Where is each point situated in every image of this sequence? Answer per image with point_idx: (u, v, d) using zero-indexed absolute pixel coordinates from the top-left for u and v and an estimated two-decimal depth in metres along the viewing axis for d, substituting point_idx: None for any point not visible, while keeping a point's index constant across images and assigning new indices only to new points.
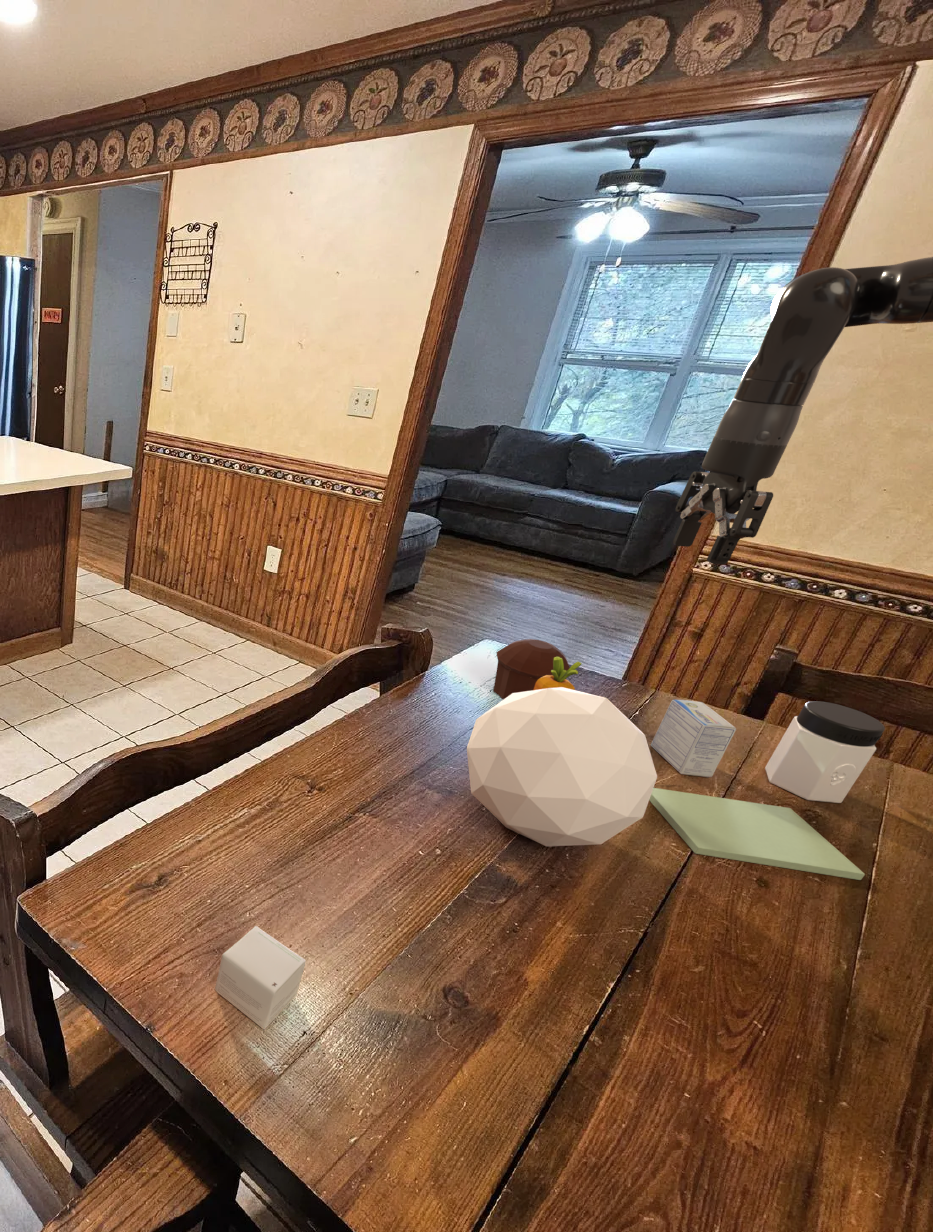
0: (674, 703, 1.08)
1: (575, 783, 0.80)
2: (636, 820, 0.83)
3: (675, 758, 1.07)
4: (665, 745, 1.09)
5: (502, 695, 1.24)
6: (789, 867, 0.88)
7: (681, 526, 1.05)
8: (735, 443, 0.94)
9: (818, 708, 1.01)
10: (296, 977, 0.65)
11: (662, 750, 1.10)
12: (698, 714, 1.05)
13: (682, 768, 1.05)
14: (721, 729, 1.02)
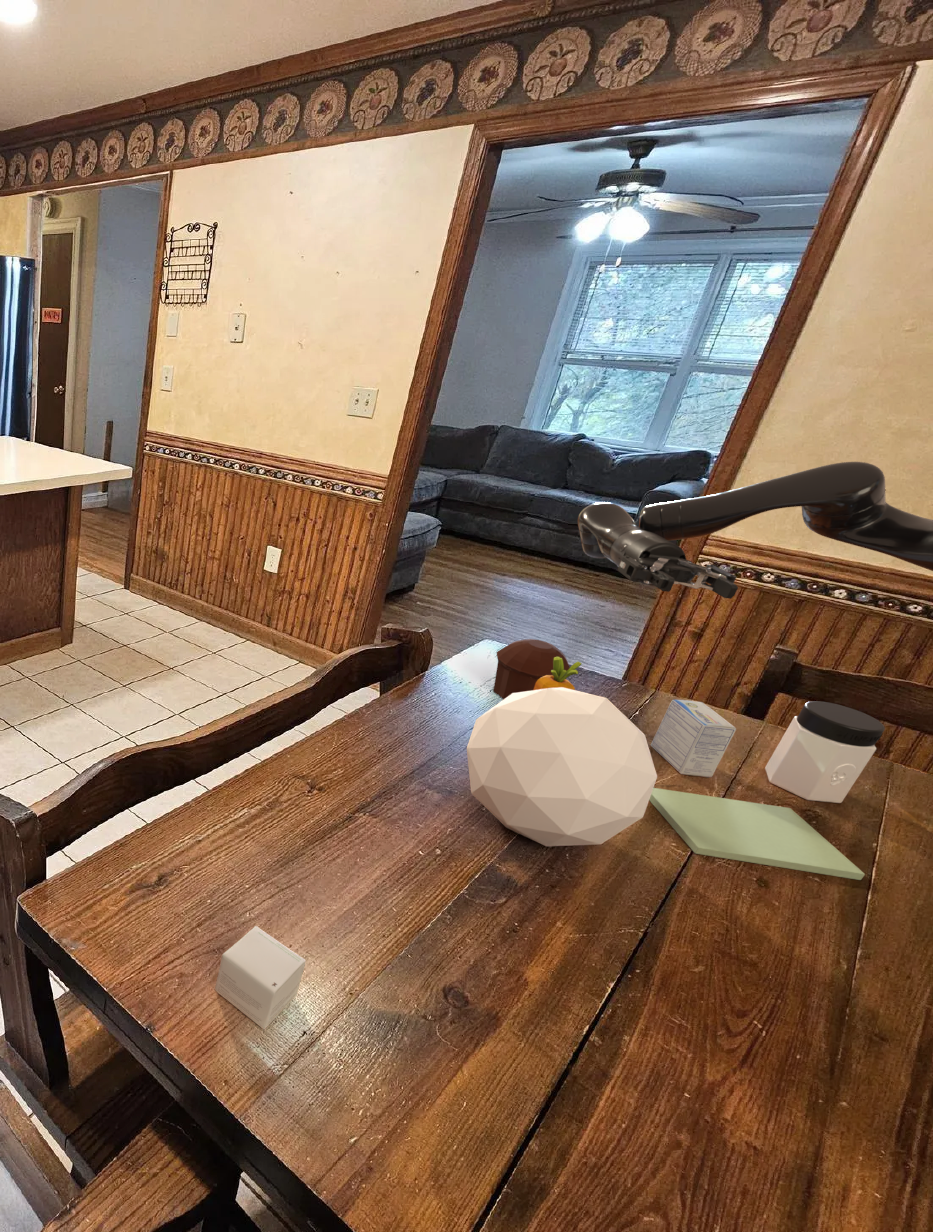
0: (674, 703, 1.08)
1: (575, 783, 0.80)
2: (636, 820, 0.83)
3: (675, 758, 1.07)
4: (665, 745, 1.09)
5: (502, 695, 1.24)
6: (789, 867, 0.88)
7: (663, 573, 1.12)
8: None
9: (818, 708, 1.01)
10: (296, 977, 0.65)
11: (662, 750, 1.10)
12: (698, 714, 1.05)
13: (682, 768, 1.05)
14: (721, 729, 1.02)
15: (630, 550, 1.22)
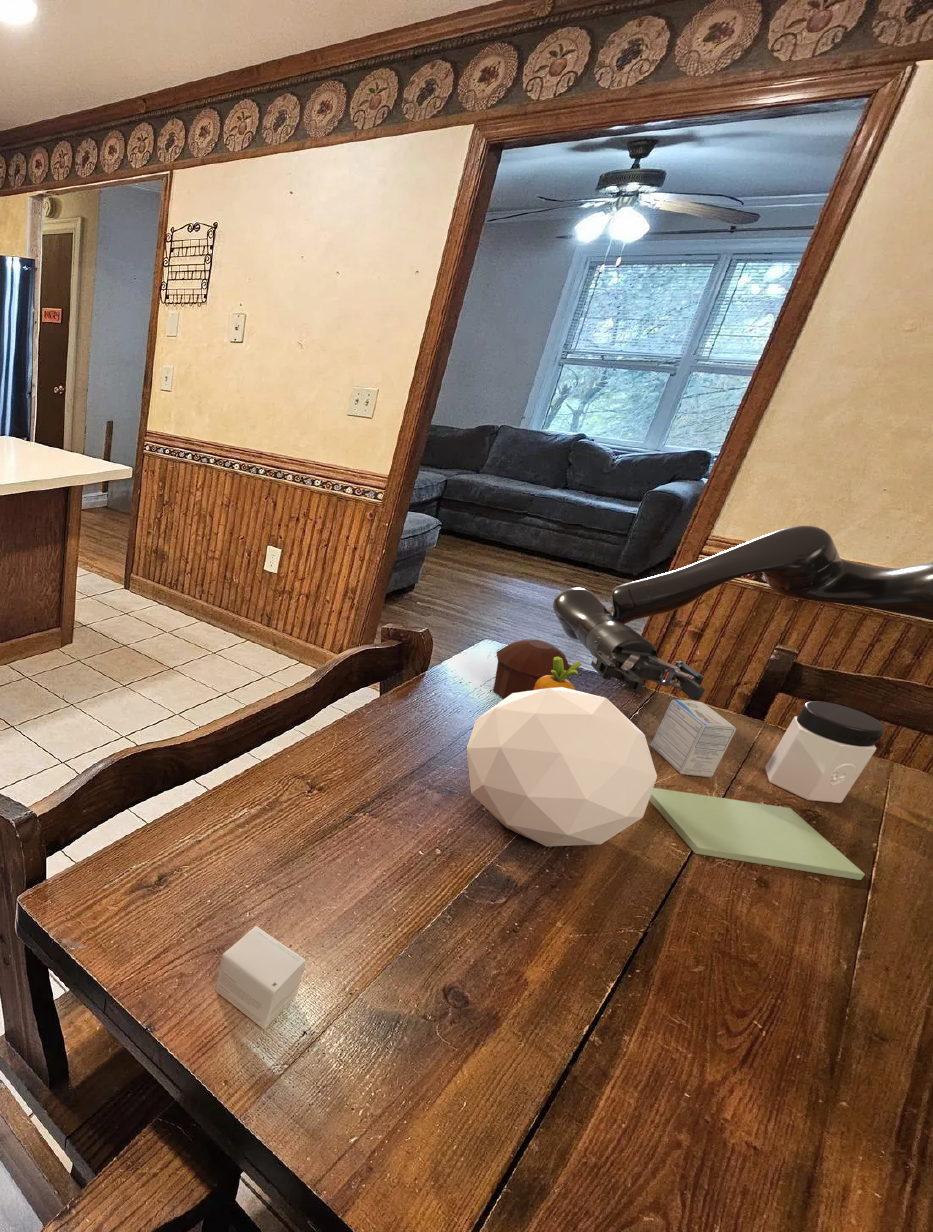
0: (674, 703, 1.08)
1: (575, 783, 0.80)
2: (636, 820, 0.83)
3: (675, 758, 1.07)
4: (665, 745, 1.09)
5: (502, 695, 1.24)
6: (789, 867, 0.88)
7: (633, 673, 1.16)
8: None
9: (818, 708, 1.01)
10: (296, 977, 0.65)
11: (662, 750, 1.10)
12: (698, 714, 1.05)
13: (682, 768, 1.05)
14: (721, 729, 1.02)
15: (603, 643, 1.26)
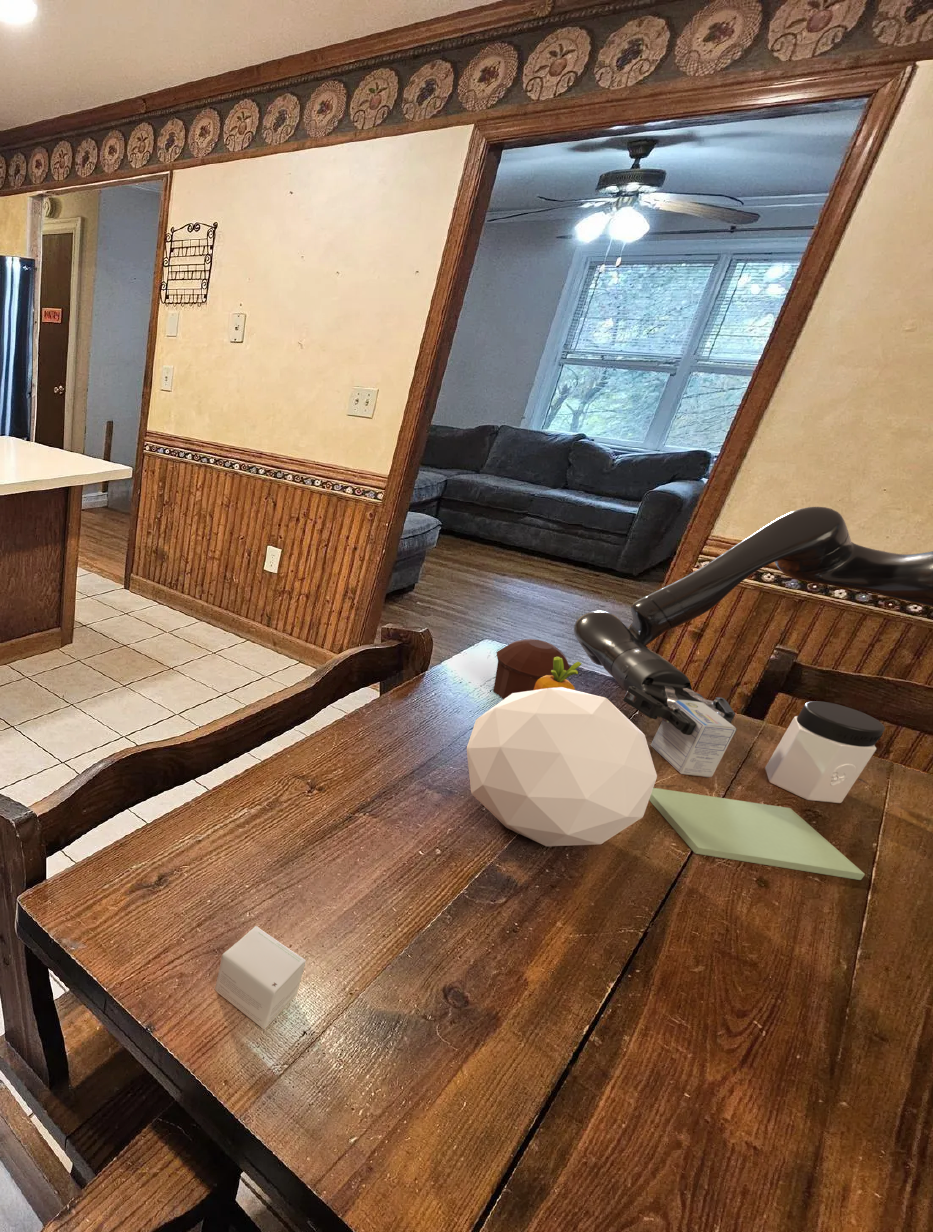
0: None
1: (575, 783, 0.80)
2: (636, 820, 0.83)
3: (675, 758, 1.07)
4: (665, 745, 1.09)
5: (502, 695, 1.24)
6: (789, 867, 0.88)
7: (683, 713, 1.06)
8: None
9: (818, 708, 1.01)
10: (296, 977, 0.65)
11: (662, 750, 1.10)
12: (698, 714, 1.05)
13: (682, 768, 1.05)
14: (721, 729, 1.02)
15: (632, 673, 1.17)
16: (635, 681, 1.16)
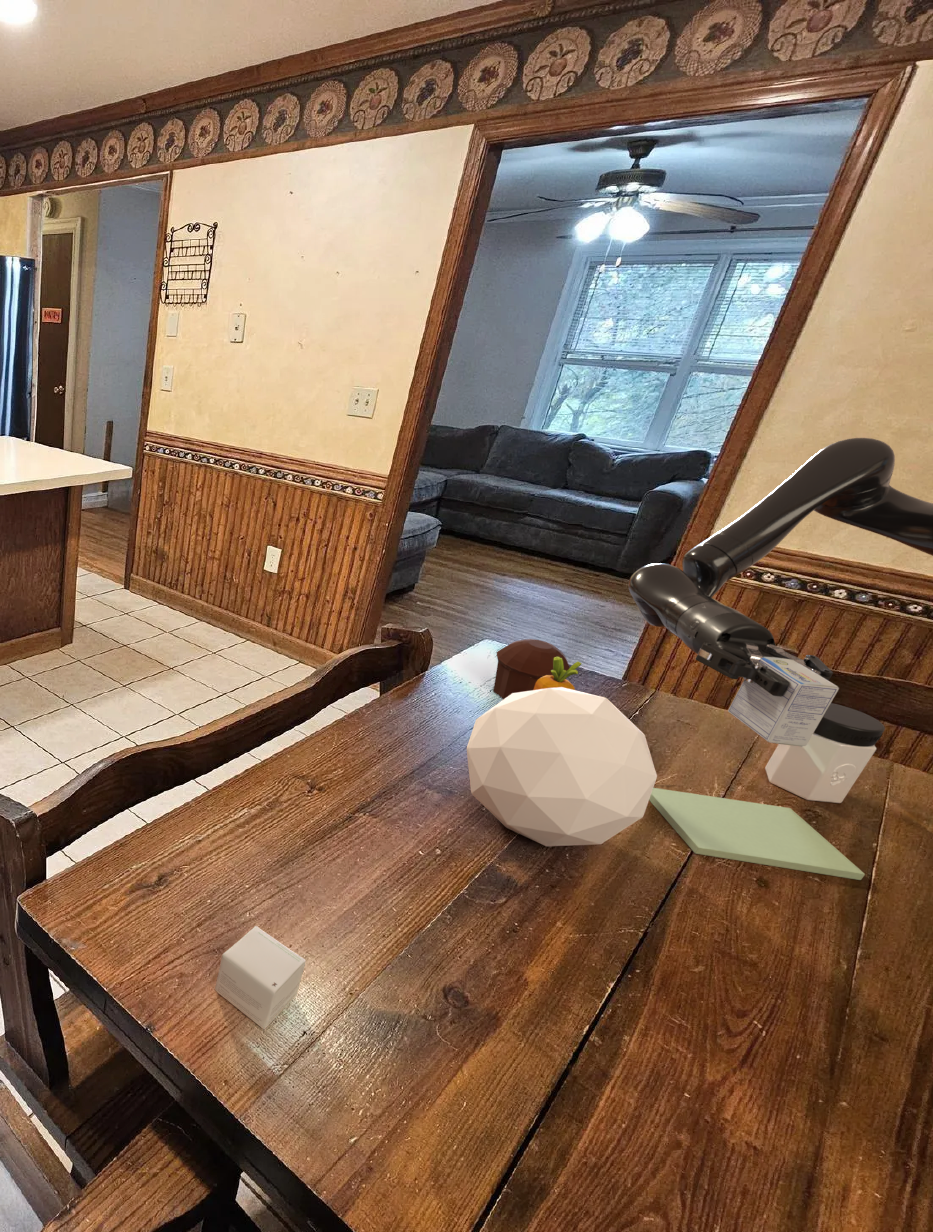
0: None
1: (575, 783, 0.80)
2: (636, 820, 0.83)
3: (761, 724, 0.91)
4: (748, 710, 0.93)
5: (502, 695, 1.24)
6: (789, 867, 0.88)
7: (772, 671, 0.90)
8: None
9: None
10: (296, 977, 0.65)
11: (743, 716, 0.94)
12: (790, 672, 0.89)
13: (771, 736, 0.90)
14: (821, 689, 0.86)
15: (704, 629, 1.01)
16: (708, 638, 1.00)
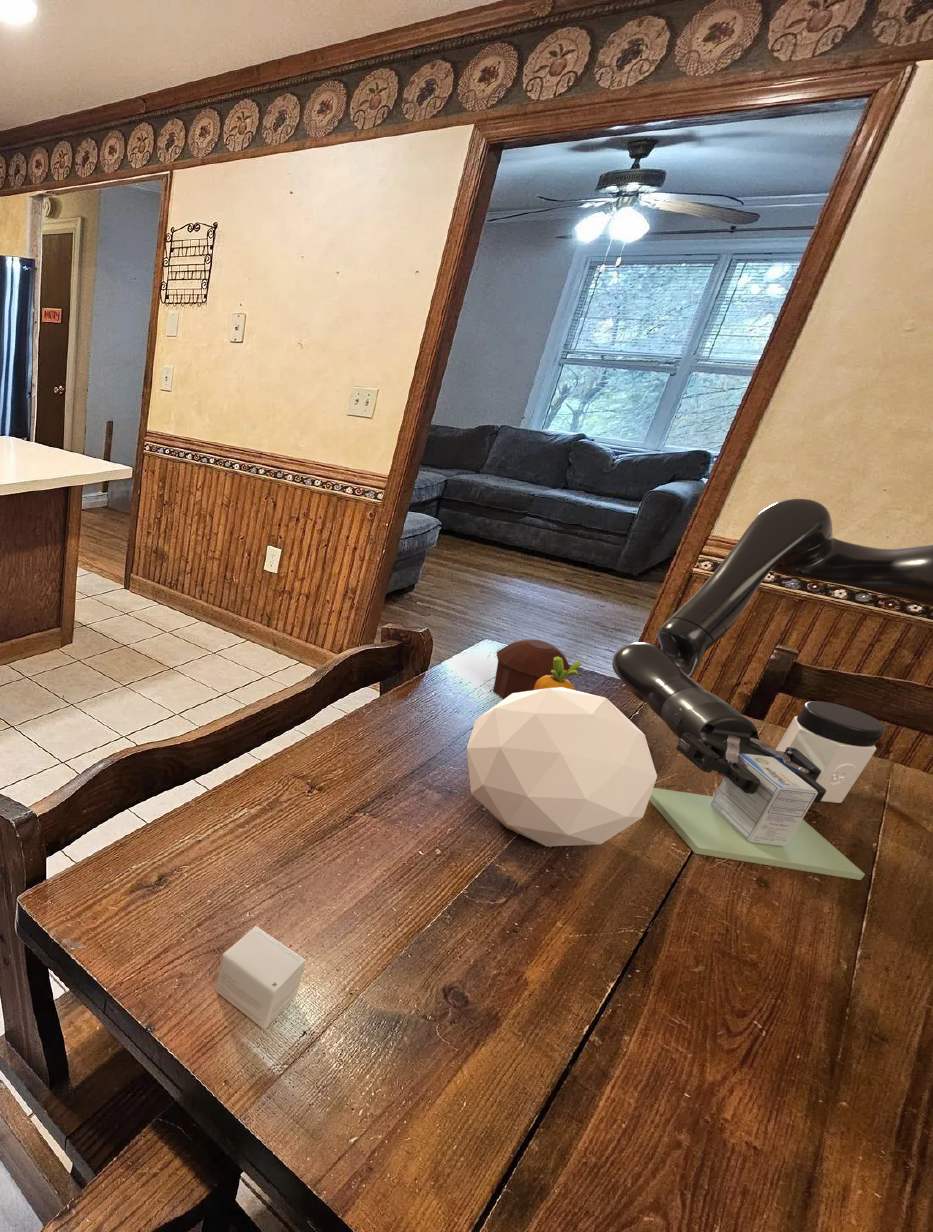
0: (740, 758, 0.93)
1: (575, 783, 0.80)
2: (636, 820, 0.83)
3: (742, 823, 0.91)
4: (729, 807, 0.94)
5: (502, 695, 1.24)
6: (789, 867, 0.88)
7: (744, 768, 0.91)
8: None
9: (818, 708, 1.01)
10: (296, 977, 0.65)
11: (725, 812, 0.94)
12: (770, 773, 0.89)
13: (751, 836, 0.90)
14: (800, 793, 0.86)
15: (688, 718, 1.02)
16: (692, 728, 1.00)
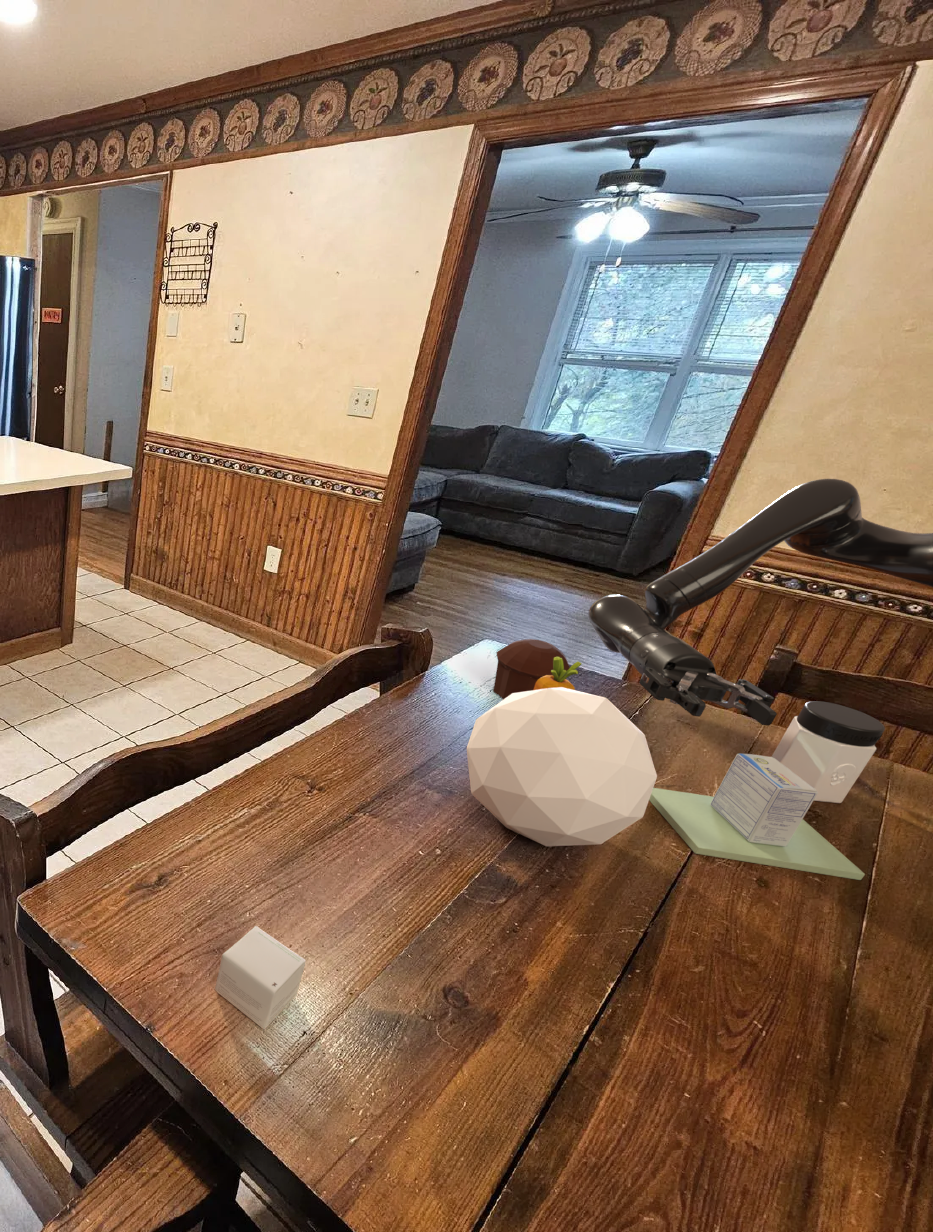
0: (740, 758, 0.93)
1: (575, 783, 0.80)
2: (636, 820, 0.83)
3: (742, 823, 0.91)
4: (729, 807, 0.94)
5: (502, 695, 1.24)
6: (789, 867, 0.88)
7: (692, 694, 1.01)
8: None
9: (818, 708, 1.01)
10: (296, 977, 0.65)
11: (725, 812, 0.94)
12: (770, 773, 0.89)
13: (751, 836, 0.90)
14: (800, 793, 0.86)
15: (652, 658, 1.11)
16: (656, 666, 1.10)
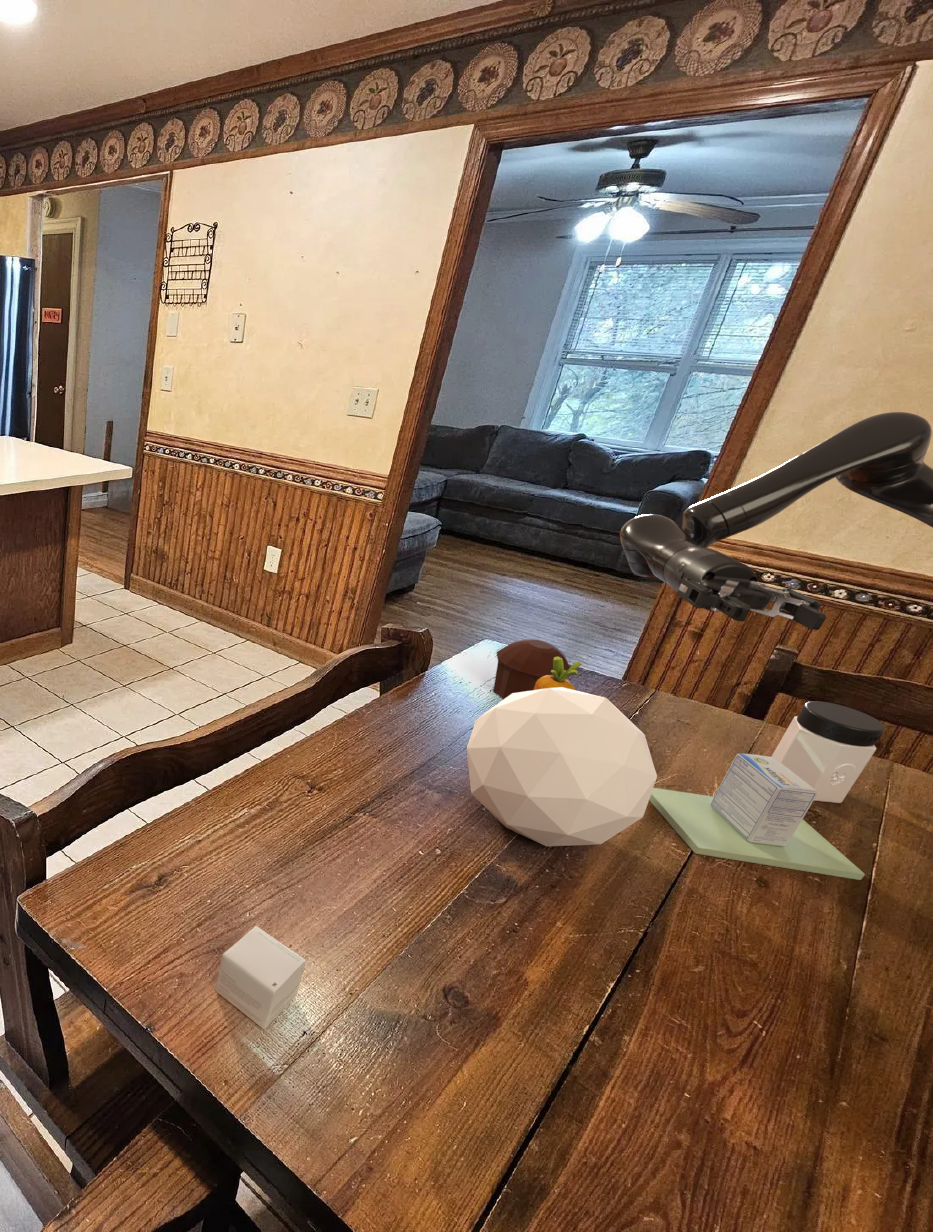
0: (740, 758, 0.93)
1: (575, 783, 0.80)
2: (636, 820, 0.83)
3: (742, 823, 0.91)
4: (729, 807, 0.94)
5: (502, 695, 1.24)
6: (789, 867, 0.88)
7: (735, 599, 0.95)
8: None
9: (818, 708, 1.01)
10: (296, 977, 0.65)
11: (725, 812, 0.94)
12: (770, 773, 0.89)
13: (751, 836, 0.90)
14: (800, 793, 0.86)
15: (689, 570, 1.06)
16: (693, 578, 1.04)
